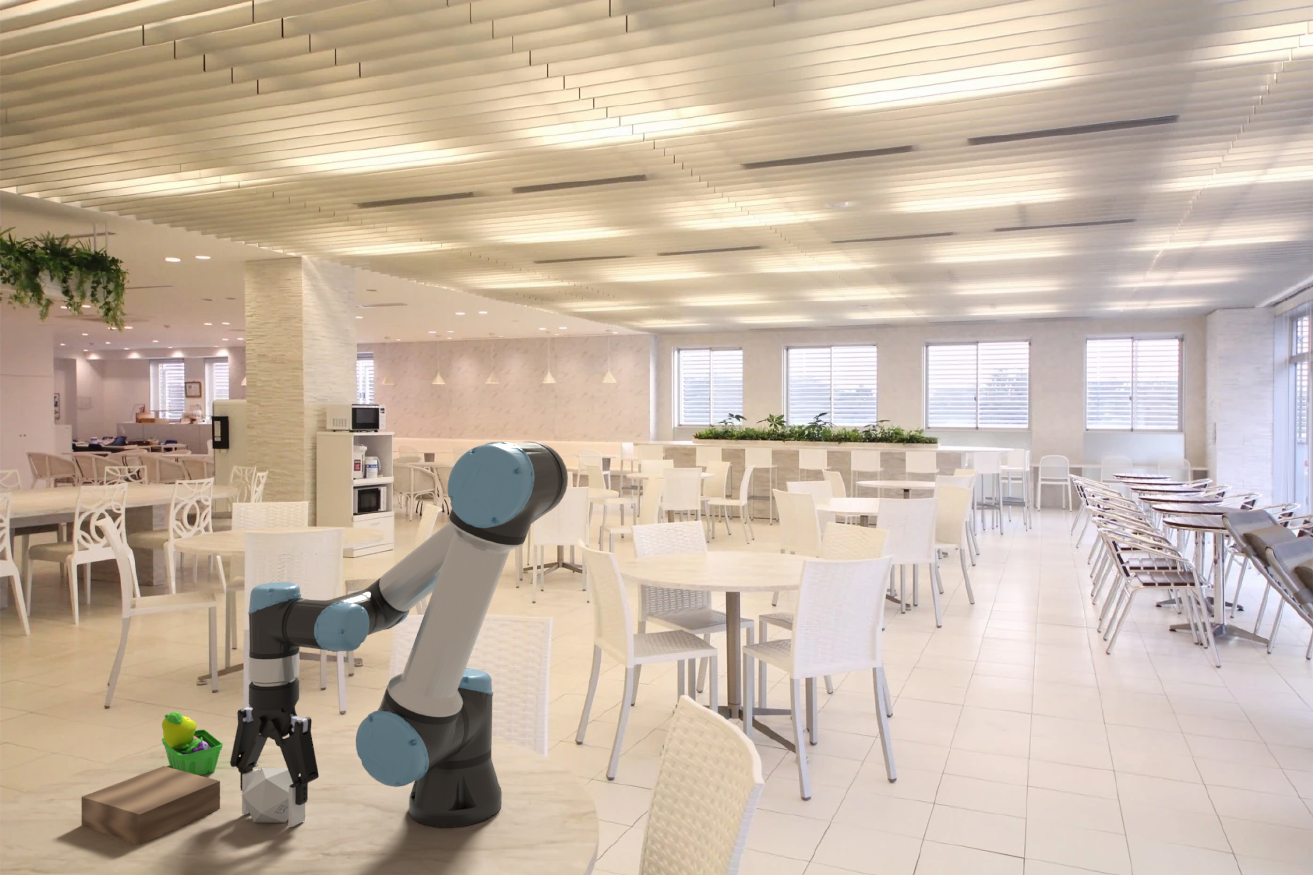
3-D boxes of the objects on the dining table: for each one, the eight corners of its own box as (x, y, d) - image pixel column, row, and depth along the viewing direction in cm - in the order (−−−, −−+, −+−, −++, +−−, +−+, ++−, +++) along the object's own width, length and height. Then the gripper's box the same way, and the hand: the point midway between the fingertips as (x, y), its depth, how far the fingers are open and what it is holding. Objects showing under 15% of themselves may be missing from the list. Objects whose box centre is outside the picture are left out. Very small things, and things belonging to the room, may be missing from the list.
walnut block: (219, 810, 147) (220, 780, 147) (139, 847, 134) (139, 814, 134) (163, 794, 153) (163, 766, 153) (81, 828, 140) (81, 796, 140)
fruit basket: (224, 772, 162) (225, 710, 162) (171, 785, 156) (172, 721, 156) (203, 754, 170) (204, 696, 170) (152, 767, 164) (153, 706, 164)
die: (264, 840, 137) (304, 783, 140) (221, 808, 139) (262, 753, 142) (284, 835, 145) (322, 782, 148) (243, 805, 147) (282, 753, 149)
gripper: (343, 682, 142) (342, 821, 142) (244, 665, 151) (243, 795, 151) (308, 695, 135) (306, 840, 136) (205, 676, 144) (204, 813, 145)
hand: (273, 816), depth 143 cm, fingers closed on die, 9 cm apart
